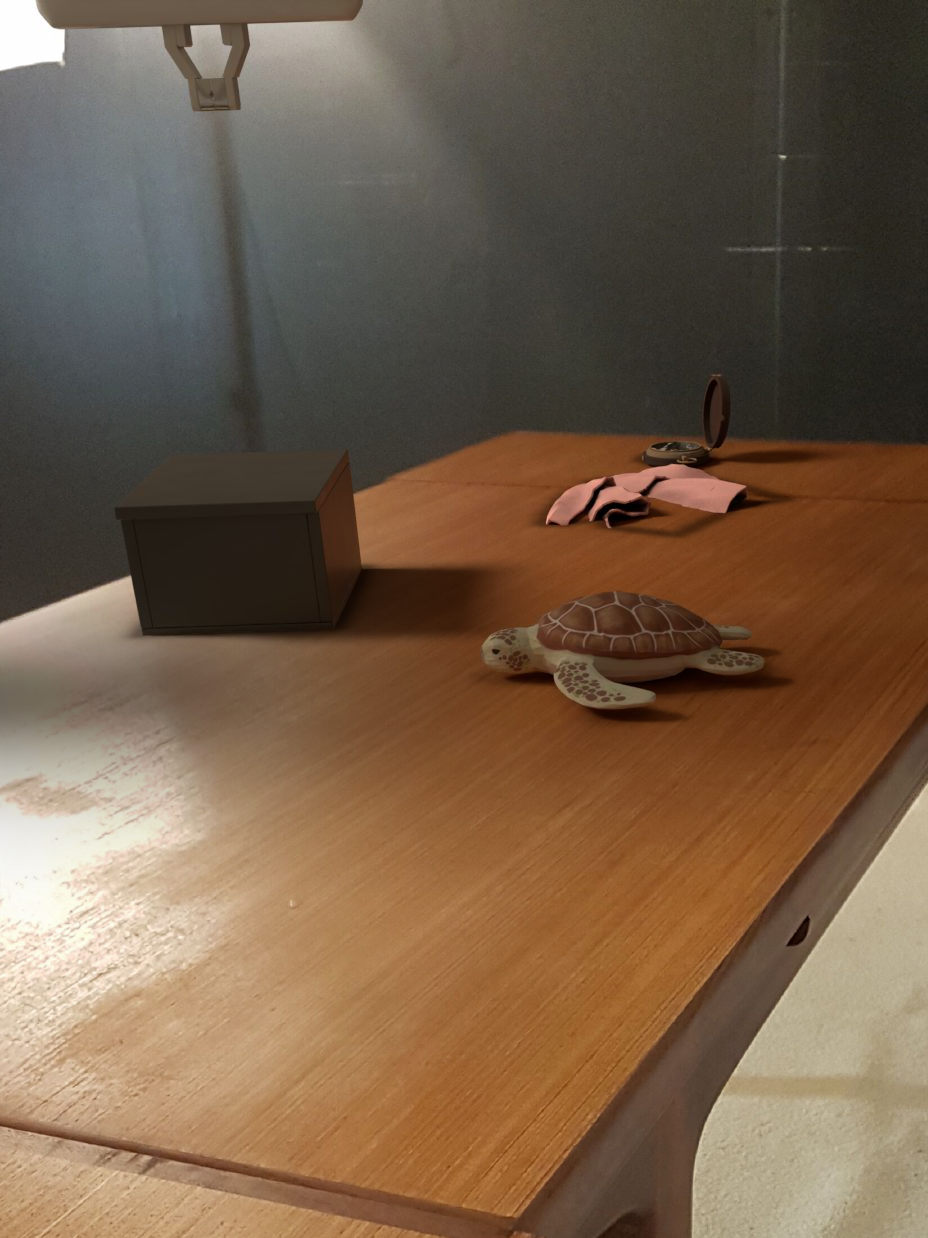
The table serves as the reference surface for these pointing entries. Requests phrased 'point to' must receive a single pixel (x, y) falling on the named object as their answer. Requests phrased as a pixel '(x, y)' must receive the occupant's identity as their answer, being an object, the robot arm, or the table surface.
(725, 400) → the compass
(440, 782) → the table surface
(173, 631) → the box
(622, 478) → the cloth
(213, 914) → the table surface
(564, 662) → the decorative turtle
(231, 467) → the box lid
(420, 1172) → the table surface
